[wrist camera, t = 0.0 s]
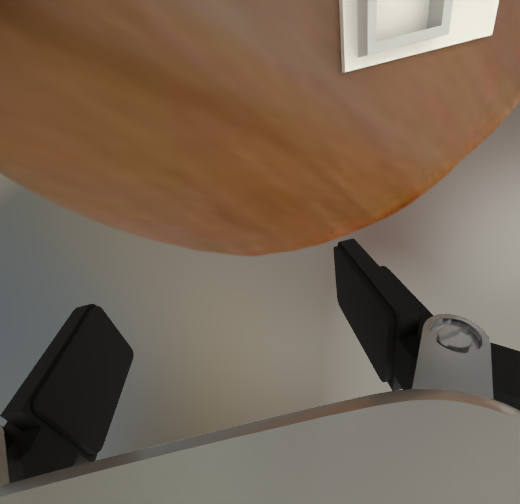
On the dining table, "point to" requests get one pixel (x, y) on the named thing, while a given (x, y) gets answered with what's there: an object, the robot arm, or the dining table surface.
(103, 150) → the dining table surface
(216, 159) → the dining table surface
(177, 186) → the dining table surface
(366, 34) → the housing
